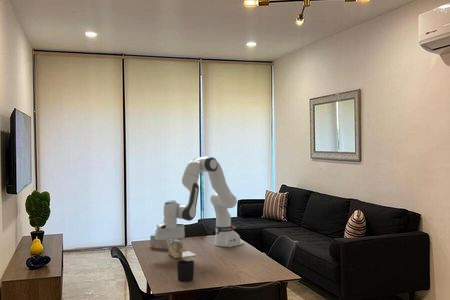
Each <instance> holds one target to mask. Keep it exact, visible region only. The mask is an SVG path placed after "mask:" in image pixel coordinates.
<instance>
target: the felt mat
mask: <svg viewBox="0 0 450 300" xmlns="http://www.w3.org/2000/svg"><path fill="white" fill-rule="evenodd" d="M196 256H197V254H195V253H193V252H191V251H190V250H187V251H182V258H191V257H196ZM182 258H181V259H182Z"/></svg>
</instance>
